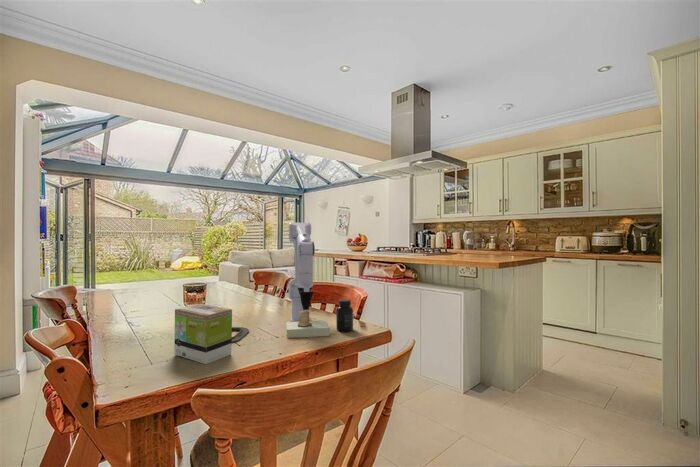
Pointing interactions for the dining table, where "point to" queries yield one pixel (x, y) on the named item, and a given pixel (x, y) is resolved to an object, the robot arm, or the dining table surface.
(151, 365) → the dining table surface
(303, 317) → the peg
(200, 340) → the tea box
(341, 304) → the supplement bottle
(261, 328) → the dining table surface
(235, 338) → the c clamp
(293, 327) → the board
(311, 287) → the robot arm
